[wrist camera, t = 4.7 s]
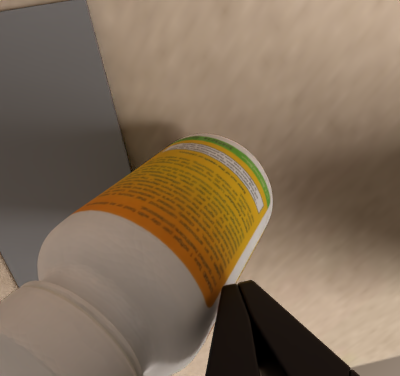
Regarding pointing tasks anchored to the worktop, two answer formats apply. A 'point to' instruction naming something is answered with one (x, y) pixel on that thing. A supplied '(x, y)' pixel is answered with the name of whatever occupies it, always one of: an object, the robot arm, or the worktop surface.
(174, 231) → the supplement bottle
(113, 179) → the mat
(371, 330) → the worktop surface
